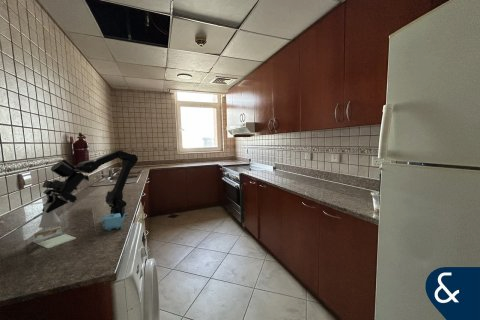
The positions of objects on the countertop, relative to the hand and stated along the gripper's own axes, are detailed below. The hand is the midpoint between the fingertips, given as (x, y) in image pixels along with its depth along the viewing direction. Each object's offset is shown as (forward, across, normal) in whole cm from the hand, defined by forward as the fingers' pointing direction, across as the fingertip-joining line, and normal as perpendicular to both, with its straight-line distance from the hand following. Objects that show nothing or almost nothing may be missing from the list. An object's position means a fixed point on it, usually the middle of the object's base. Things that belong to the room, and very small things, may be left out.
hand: (44, 212), depth 91 cm
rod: (+7, -3, +9) cm, 12 cm away
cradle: (+8, -3, +10) cm, 14 cm away
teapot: (-6, +15, +25) cm, 30 cm away
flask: (+4, 0, +6) cm, 7 cm away
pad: (+8, +5, +10) cm, 14 cm away
